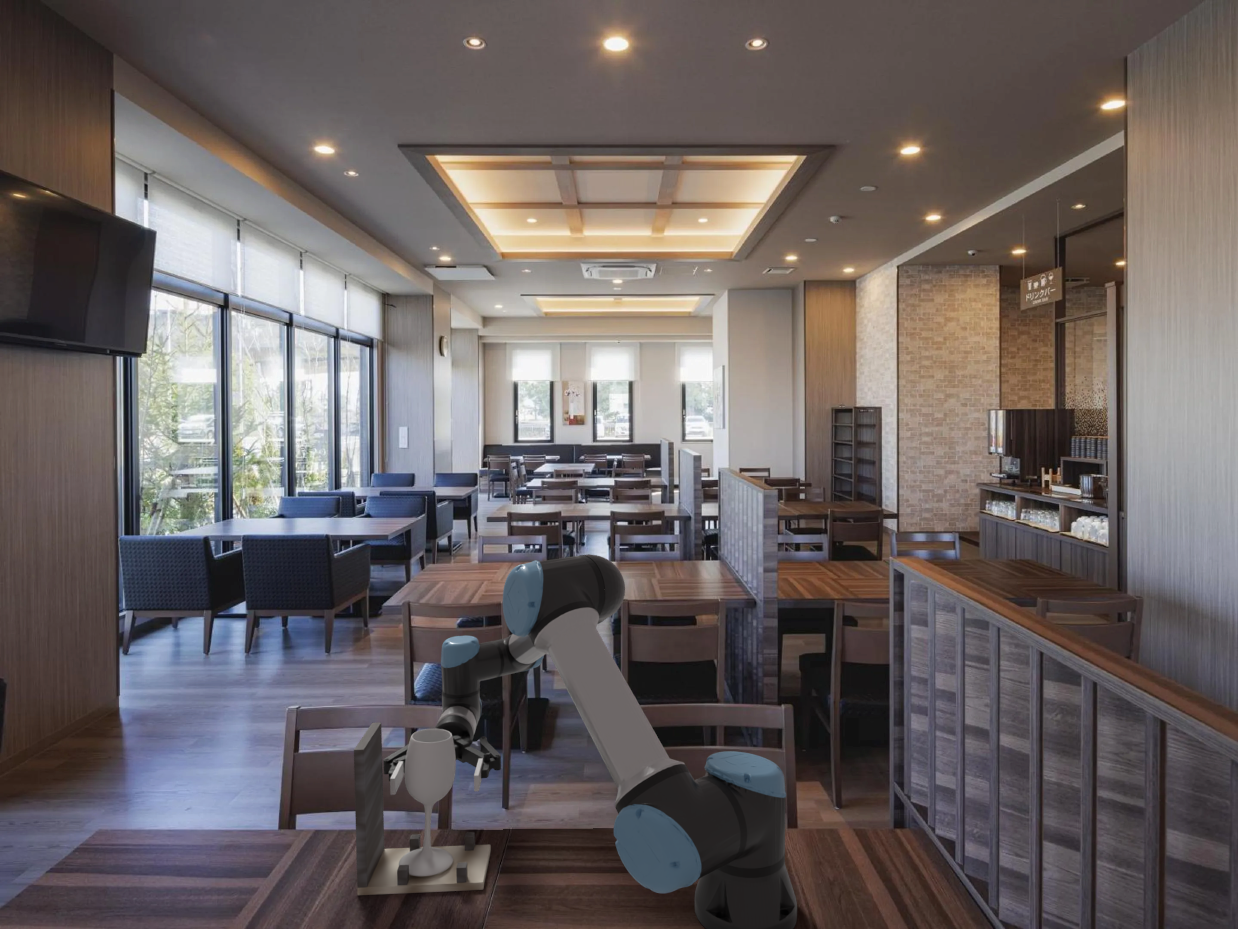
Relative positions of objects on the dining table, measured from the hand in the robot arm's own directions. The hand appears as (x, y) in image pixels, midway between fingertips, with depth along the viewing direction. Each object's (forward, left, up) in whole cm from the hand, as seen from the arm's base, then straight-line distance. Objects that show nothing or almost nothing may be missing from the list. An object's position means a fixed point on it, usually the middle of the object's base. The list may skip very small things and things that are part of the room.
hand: (434, 785), depth 126 cm
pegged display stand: (+1, +1, -14) cm, 14 cm away
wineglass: (+2, +1, -13) cm, 13 cm away
